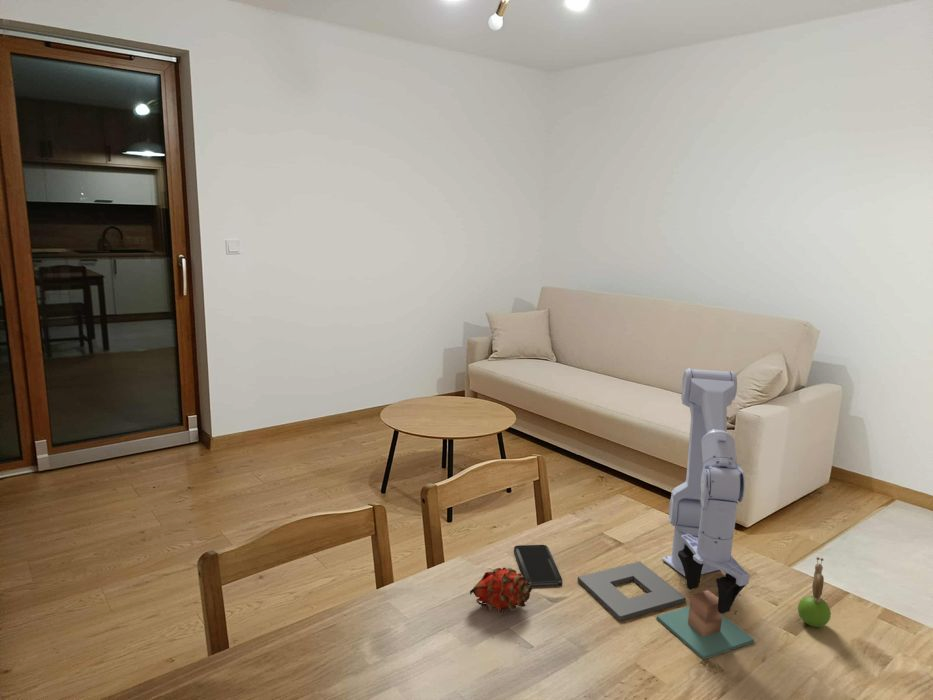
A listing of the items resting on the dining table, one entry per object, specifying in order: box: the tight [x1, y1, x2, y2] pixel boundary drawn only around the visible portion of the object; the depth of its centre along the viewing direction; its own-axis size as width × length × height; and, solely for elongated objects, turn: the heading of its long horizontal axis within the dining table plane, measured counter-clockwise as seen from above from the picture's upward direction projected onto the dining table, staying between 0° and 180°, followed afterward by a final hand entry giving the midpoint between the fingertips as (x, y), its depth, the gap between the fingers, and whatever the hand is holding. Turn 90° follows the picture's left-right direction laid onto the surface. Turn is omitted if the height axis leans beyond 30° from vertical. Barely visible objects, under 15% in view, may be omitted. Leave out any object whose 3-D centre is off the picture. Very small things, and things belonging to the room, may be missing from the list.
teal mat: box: [656, 605, 755, 660], centre depth 116 cm, size 12×12×1 cm
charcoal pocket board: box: [577, 561, 687, 622], centre depth 127 cm, size 16×14×1 cm
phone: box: [513, 544, 563, 588], centre depth 135 cm, size 8×1×15 cm
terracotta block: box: [688, 589, 723, 637], centre depth 115 cm, size 4×4×6 cm
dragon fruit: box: [469, 567, 533, 615], centre depth 120 cm, size 8×8×12 cm
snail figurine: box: [797, 557, 832, 628], centre depth 118 cm, size 5×6×12 cm
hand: (707, 599), depth 115 cm, fingers open, 7 cm apart
